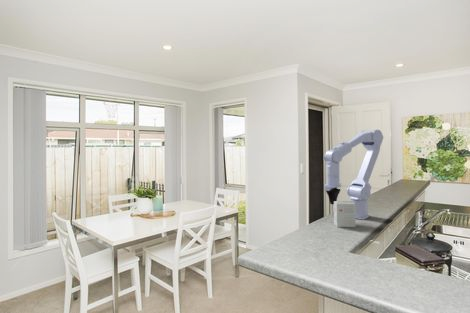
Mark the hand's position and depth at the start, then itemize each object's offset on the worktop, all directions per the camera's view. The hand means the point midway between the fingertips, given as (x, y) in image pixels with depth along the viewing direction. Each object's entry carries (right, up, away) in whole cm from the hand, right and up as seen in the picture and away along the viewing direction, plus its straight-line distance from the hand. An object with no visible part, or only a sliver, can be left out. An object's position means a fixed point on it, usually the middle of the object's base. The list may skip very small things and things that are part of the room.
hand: (333, 204), depth 136 cm
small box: (+2, -8, -8) cm, 12 cm away
